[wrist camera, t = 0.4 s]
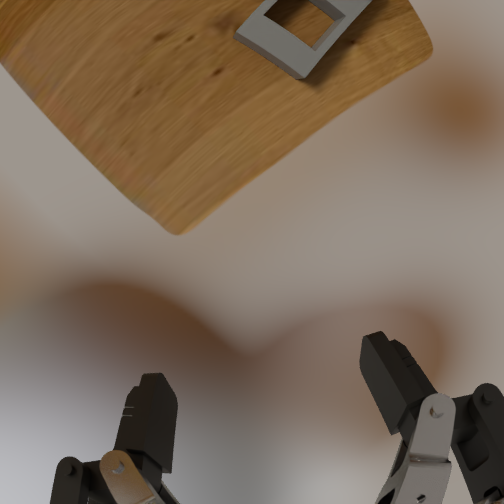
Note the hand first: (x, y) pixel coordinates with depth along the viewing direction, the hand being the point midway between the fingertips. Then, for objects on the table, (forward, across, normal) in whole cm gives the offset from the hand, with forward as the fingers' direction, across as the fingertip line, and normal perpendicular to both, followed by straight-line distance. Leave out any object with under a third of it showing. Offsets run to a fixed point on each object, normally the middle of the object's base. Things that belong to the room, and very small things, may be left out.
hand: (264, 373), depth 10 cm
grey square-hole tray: (+24, -13, -25) cm, 37 cm away
